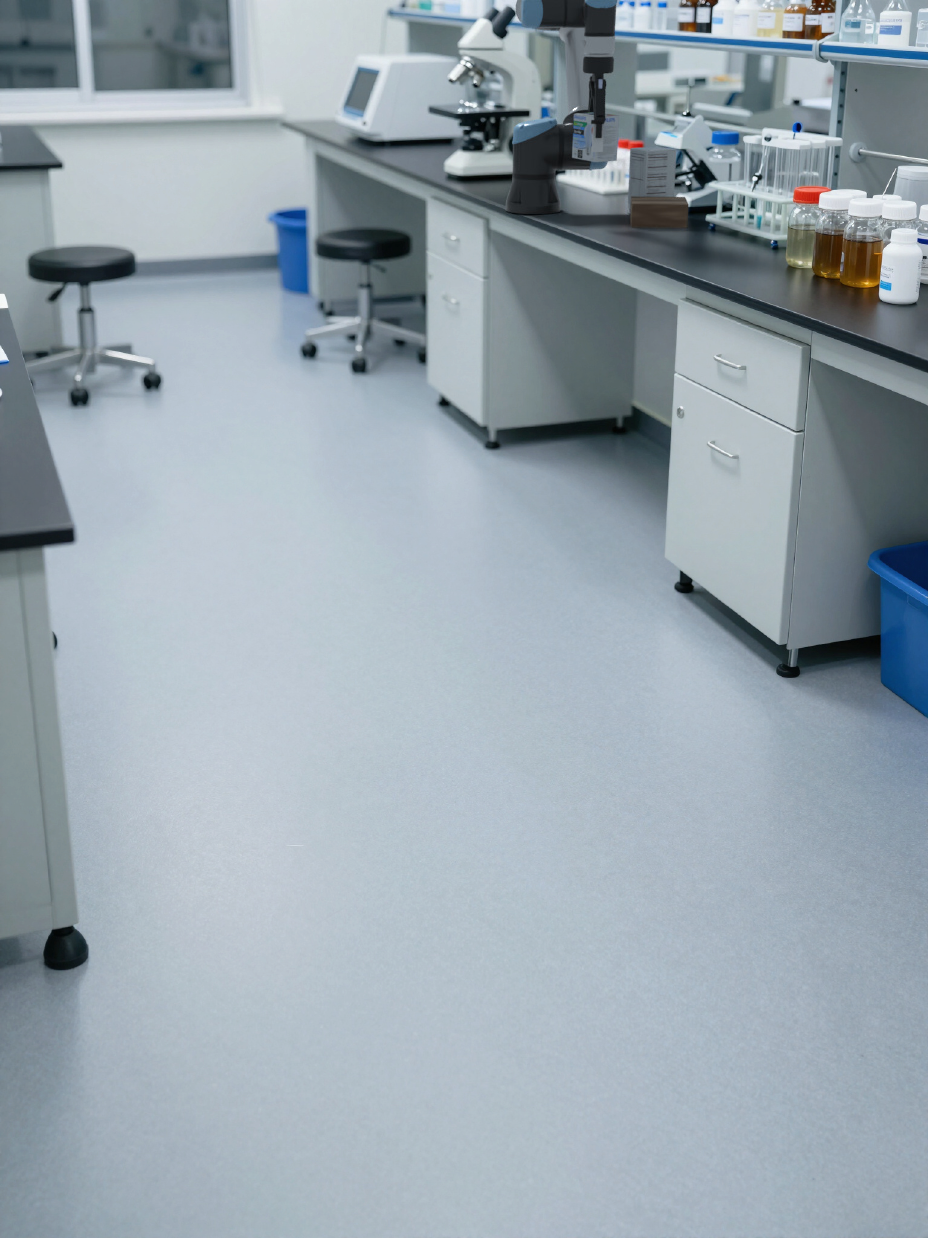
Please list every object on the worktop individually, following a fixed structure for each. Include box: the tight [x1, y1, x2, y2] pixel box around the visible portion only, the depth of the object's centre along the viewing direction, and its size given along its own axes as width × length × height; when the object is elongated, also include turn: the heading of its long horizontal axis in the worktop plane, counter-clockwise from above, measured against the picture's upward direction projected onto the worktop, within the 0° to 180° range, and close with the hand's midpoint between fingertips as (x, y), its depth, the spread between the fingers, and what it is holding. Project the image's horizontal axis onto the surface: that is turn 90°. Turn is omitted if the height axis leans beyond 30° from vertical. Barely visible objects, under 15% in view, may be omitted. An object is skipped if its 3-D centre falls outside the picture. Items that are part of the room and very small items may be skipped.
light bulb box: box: [572, 112, 620, 162], centre depth 318 cm, size 11×7×11 cm, turn 33°
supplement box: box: [626, 146, 677, 215], centre depth 337 cm, size 10×9×17 cm
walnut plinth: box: [629, 196, 689, 229], centre depth 326 cm, size 14×14×6 cm
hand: (594, 148), depth 320 cm, fingers closed on light bulb box, 12 cm apart
